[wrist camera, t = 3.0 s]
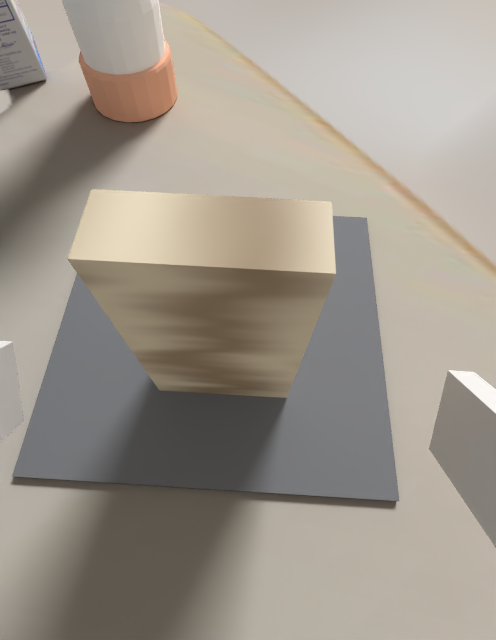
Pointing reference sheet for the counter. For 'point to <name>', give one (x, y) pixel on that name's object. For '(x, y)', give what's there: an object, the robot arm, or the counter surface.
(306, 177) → the counter surface
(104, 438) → the mat
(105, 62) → the salt shaker
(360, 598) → the counter surface
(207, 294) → the birch block
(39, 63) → the medicine box
